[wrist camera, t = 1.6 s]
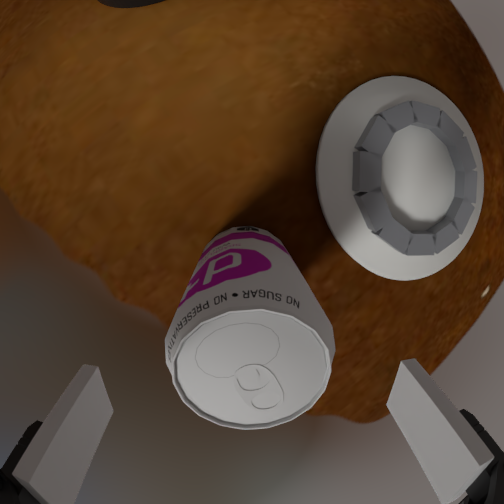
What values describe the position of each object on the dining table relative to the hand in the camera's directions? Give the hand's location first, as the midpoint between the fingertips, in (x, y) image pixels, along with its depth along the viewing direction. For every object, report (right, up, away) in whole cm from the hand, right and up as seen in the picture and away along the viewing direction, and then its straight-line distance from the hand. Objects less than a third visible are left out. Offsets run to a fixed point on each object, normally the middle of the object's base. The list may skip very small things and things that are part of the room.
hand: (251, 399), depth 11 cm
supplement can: (-1, +4, +16) cm, 16 cm away
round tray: (+15, +13, +14) cm, 24 cm away
